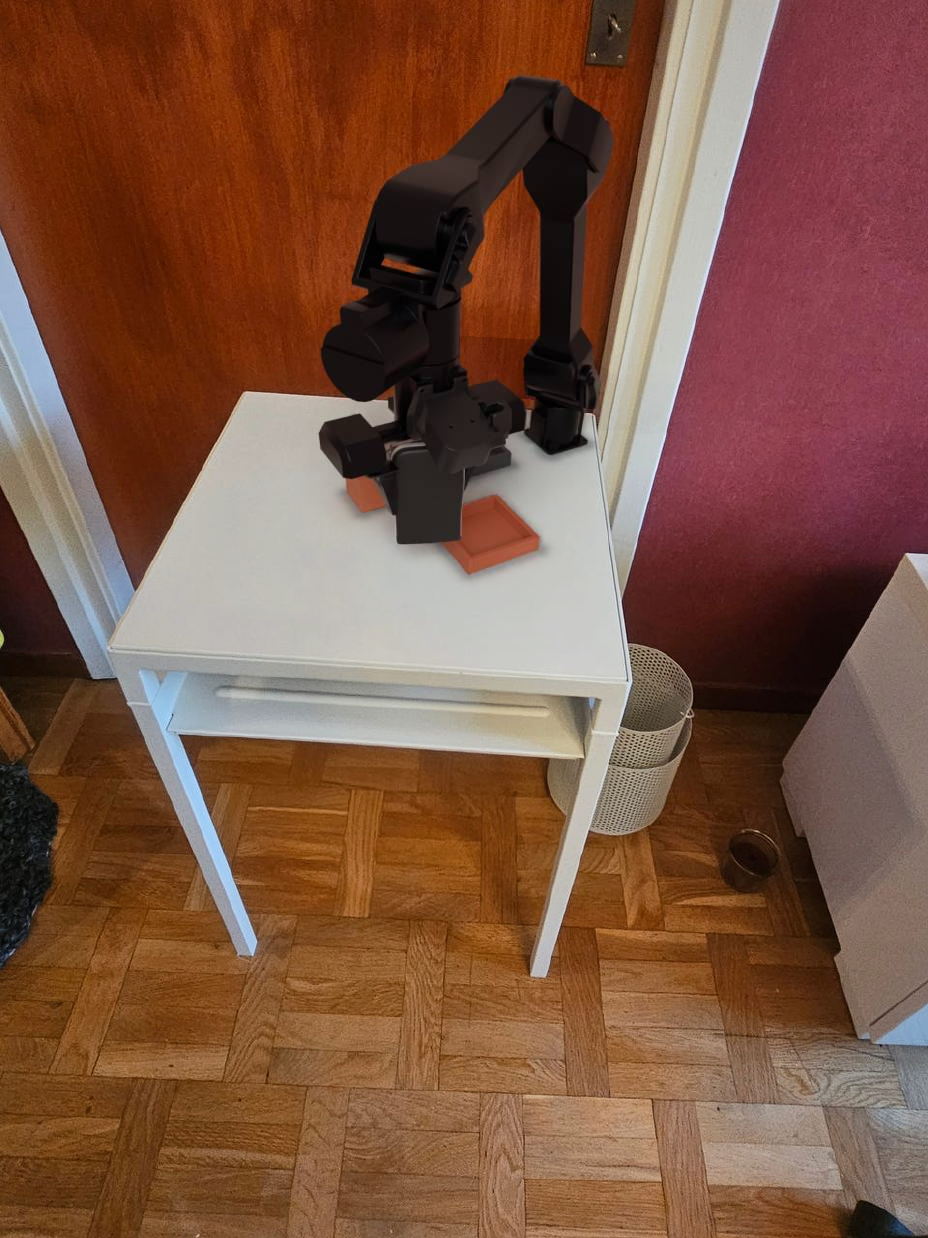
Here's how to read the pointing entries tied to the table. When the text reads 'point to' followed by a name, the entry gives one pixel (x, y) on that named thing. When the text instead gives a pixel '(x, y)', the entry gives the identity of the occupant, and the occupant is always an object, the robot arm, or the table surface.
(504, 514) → the terracotta tray
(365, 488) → the terracotta block
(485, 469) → the charcoal tray
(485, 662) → the table surface
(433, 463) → the battery charger
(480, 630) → the table surface
